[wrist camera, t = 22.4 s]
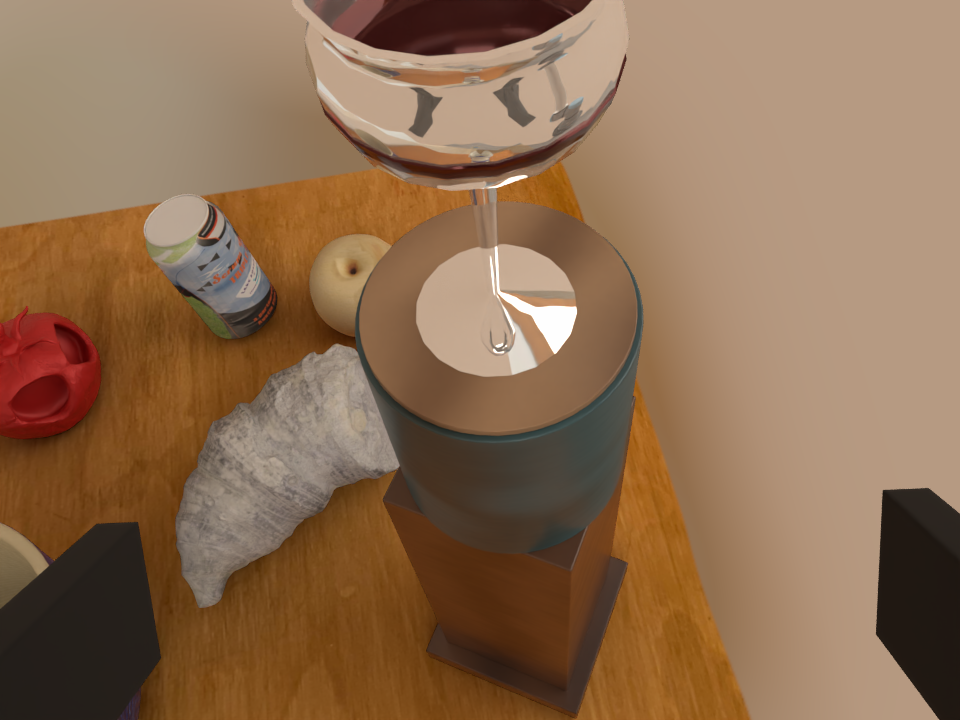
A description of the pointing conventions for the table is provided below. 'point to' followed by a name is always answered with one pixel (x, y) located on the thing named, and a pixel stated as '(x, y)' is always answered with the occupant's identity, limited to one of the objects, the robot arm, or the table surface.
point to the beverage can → (210, 265)
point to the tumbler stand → (510, 458)
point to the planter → (15, 563)
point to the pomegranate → (45, 375)
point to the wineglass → (473, 140)
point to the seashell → (278, 466)
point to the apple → (343, 278)
